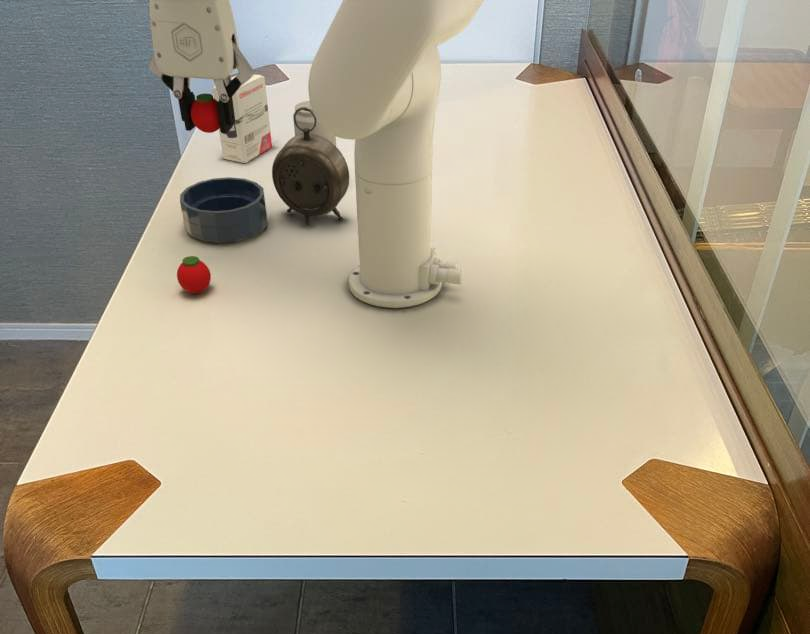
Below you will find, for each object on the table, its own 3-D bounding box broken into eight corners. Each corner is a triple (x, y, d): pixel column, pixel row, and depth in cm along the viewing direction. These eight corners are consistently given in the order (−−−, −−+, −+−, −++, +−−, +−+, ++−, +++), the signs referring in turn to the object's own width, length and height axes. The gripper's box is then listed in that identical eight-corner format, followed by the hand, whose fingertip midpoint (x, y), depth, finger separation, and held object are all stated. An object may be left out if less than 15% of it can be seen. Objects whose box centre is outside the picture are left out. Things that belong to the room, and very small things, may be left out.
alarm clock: (352, 216, 131) (346, 104, 120) (340, 232, 128) (333, 117, 116) (286, 208, 134) (274, 97, 122) (273, 223, 130) (259, 110, 119)
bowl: (278, 213, 133) (274, 181, 129) (251, 249, 124) (246, 216, 121) (205, 206, 135) (199, 174, 131) (173, 241, 126) (166, 208, 123)
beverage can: (292, 187, 139) (284, 109, 131) (313, 173, 143) (306, 96, 135) (325, 194, 137) (319, 115, 129) (345, 180, 141) (341, 102, 133)
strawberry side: (218, 284, 117) (212, 253, 114) (205, 300, 114) (199, 269, 111) (188, 281, 118) (181, 250, 115) (175, 297, 115) (168, 266, 111)
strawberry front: (231, 127, 117) (226, 91, 114) (219, 139, 114) (214, 103, 111) (200, 124, 118) (195, 89, 115) (188, 136, 115) (182, 100, 112)
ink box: (250, 142, 153) (241, 70, 145) (273, 147, 152) (265, 74, 143) (222, 159, 148) (210, 85, 140) (245, 164, 146) (235, 89, 138)
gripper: (106, -26, 102) (140, 134, 115) (241, -19, 99) (260, 144, 112) (133, -41, 107) (162, 114, 120) (262, -34, 104) (277, 123, 117)
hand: (209, 127), depth 116 cm, fingers closed on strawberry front, 4 cm apart
